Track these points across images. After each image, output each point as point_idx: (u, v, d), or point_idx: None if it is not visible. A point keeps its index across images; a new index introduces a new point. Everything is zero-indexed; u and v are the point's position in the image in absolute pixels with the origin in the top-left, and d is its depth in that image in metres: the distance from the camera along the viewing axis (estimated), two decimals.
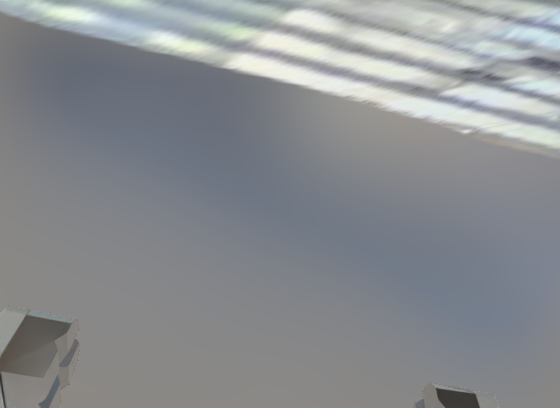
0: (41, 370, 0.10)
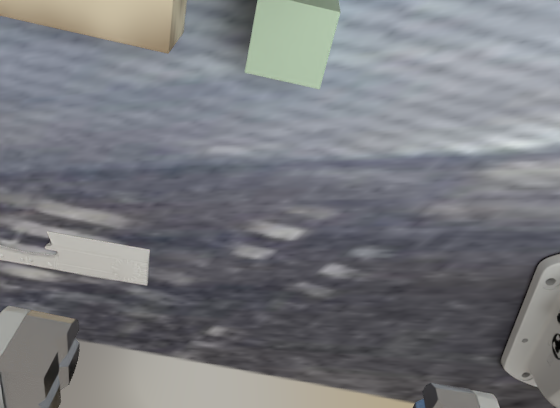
0: (41, 370, 0.10)
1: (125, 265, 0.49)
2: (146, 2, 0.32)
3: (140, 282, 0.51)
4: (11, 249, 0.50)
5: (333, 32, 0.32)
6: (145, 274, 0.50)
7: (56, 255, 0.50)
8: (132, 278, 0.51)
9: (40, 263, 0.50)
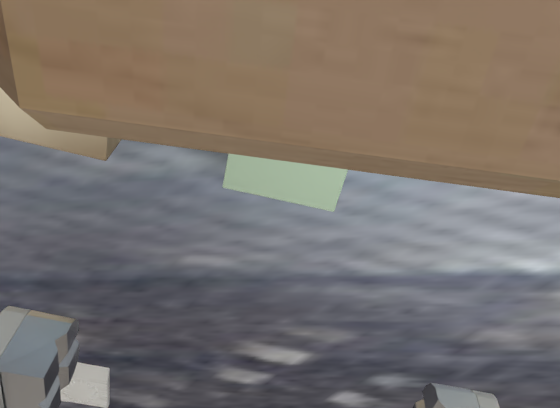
0: (41, 370, 0.10)
1: (78, 386, 0.38)
2: None
3: (99, 404, 0.40)
4: None
5: None
6: (105, 396, 0.39)
7: None
8: (88, 400, 0.40)
9: None
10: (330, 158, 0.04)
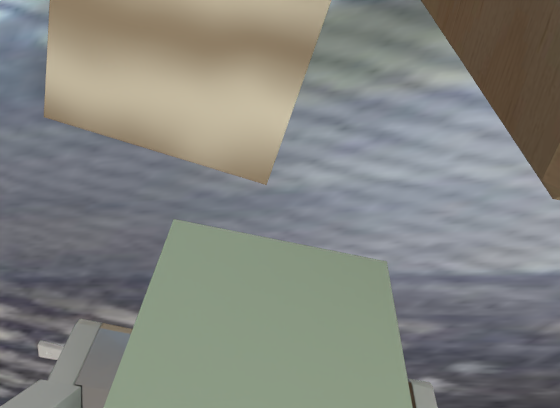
0: None
1: None
2: (252, 130, 0.26)
3: None
4: (60, 347, 0.44)
5: None
6: None
7: None
8: None
9: None
10: None
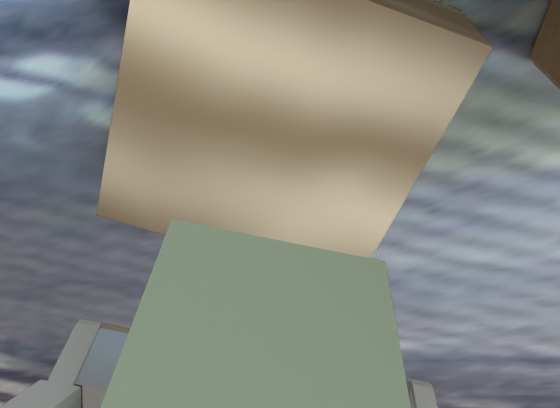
0: None
1: None
2: (345, 234, 0.22)
3: None
4: None
5: None
6: None
7: None
8: None
9: None
10: None
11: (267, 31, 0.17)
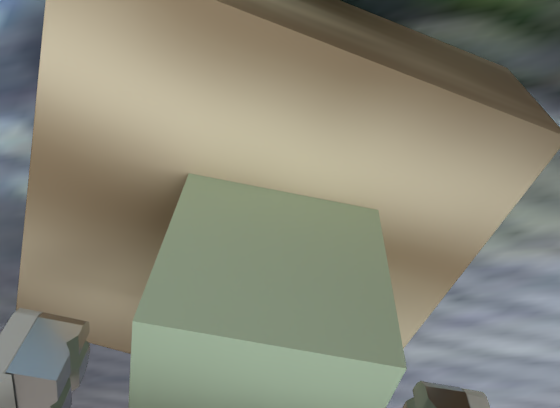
0: (54, 372, 0.10)
1: None
2: None
3: None
4: None
5: (381, 407, 0.10)
6: None
7: None
8: None
9: None
10: None
11: (243, 105, 0.12)
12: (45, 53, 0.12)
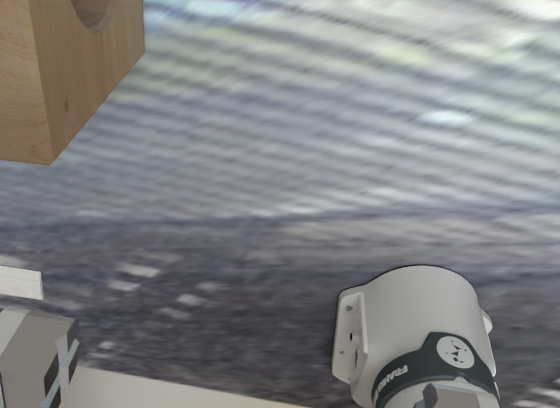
0: (41, 370, 0.10)
1: (22, 284, 0.63)
2: None
3: (36, 297, 0.64)
4: None
5: None
6: (39, 291, 0.63)
7: None
8: (30, 294, 0.64)
9: None
10: (7, 159, 0.30)
11: None
12: None
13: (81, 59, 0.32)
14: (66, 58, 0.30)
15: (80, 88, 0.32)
